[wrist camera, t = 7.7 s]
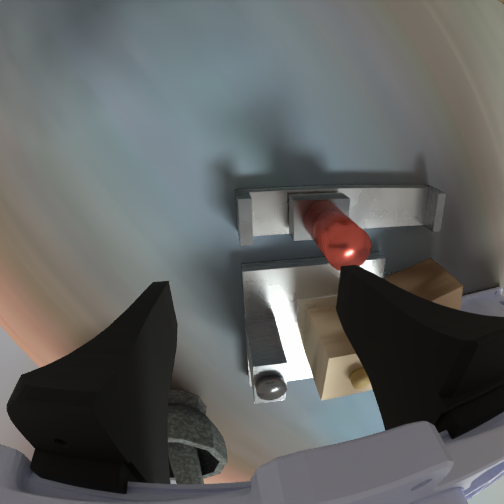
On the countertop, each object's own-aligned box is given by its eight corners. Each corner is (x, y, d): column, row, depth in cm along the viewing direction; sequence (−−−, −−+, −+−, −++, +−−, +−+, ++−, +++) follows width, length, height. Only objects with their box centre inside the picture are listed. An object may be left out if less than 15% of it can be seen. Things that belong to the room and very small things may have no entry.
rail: (428, 185, 22) (446, 193, 20) (423, 220, 23) (440, 231, 21) (235, 189, 21) (237, 199, 18) (237, 231, 22) (240, 246, 20)
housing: (366, 301, 24) (401, 352, 19) (358, 342, 26) (385, 394, 20) (307, 309, 24) (332, 367, 18) (304, 351, 26) (324, 408, 20)
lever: (341, 192, 20) (383, 223, 15) (339, 229, 21) (377, 269, 16) (289, 194, 20) (316, 227, 14) (288, 232, 21) (314, 276, 16)
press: (379, 251, 24) (425, 298, 18) (357, 360, 29) (384, 412, 23) (241, 263, 23) (251, 323, 17) (248, 376, 28) (257, 437, 22)
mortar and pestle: (114, 387, 27) (92, 490, 17) (196, 367, 27) (195, 487, 16) (168, 441, 32) (165, 526, 22) (239, 427, 32) (250, 519, 21)
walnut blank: (430, 257, 25) (463, 285, 20) (429, 296, 27) (457, 326, 22) (384, 276, 25) (413, 309, 21) (386, 315, 27) (411, 349, 23)
